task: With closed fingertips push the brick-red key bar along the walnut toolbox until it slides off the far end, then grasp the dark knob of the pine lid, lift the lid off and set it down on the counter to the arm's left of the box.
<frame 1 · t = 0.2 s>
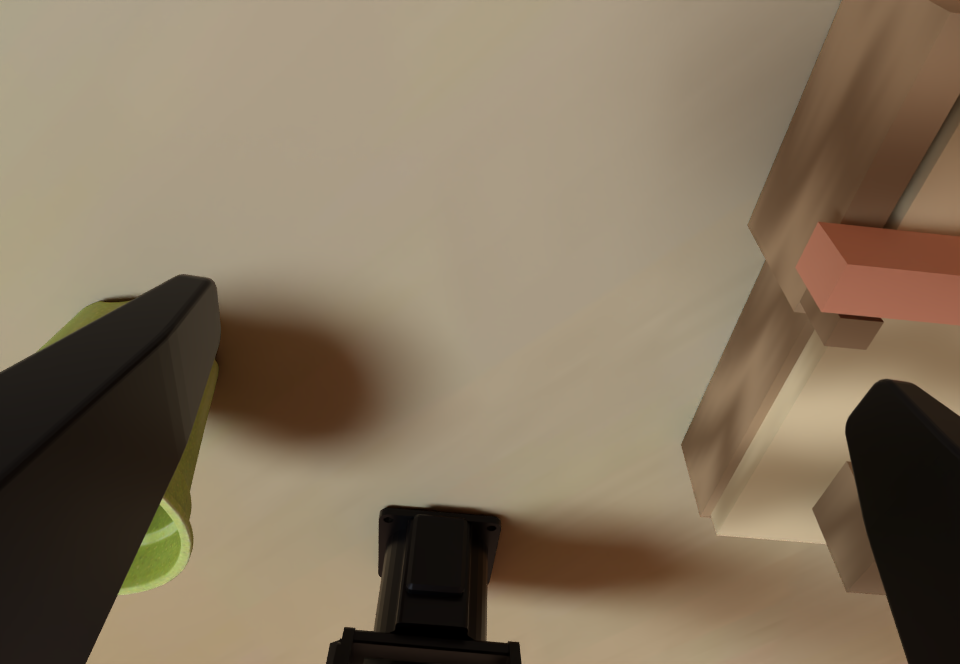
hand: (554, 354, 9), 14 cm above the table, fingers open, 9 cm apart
lid: (938, 357, 23), point 4 cm above the table, touching toolbox
toolbox: (886, 286, 26), on the table
plant pot: (151, 349, 29), on the table
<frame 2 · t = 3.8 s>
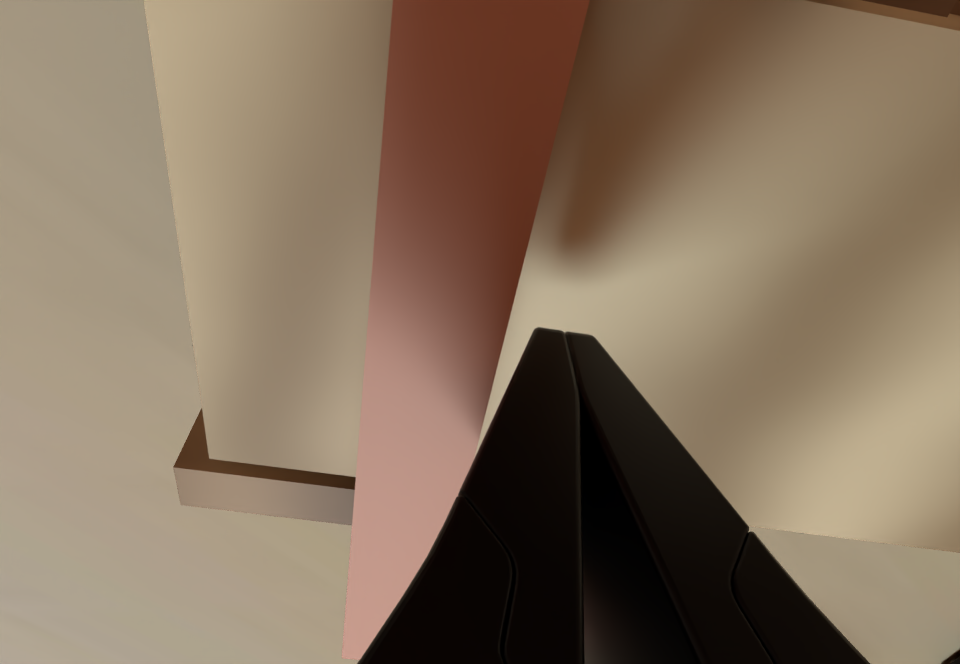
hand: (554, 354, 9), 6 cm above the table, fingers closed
key bar: (431, 350, 9), point 6 cm above the table, slide at 1.6 cm, touching gripper
lid: (805, 311, 11), point 4 cm above the table, touching toolbox
toolbox: (739, 195, 14), on the table
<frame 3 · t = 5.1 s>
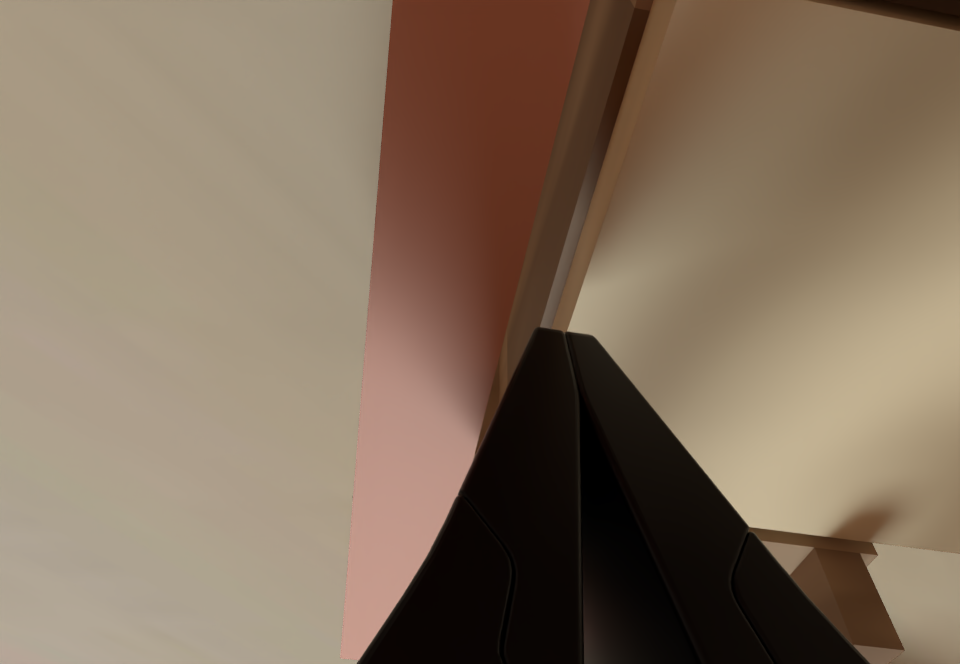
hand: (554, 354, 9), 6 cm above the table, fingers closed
key bar: (430, 350, 9), point 6 cm above the table, slide at 7.3 cm, touching gripper
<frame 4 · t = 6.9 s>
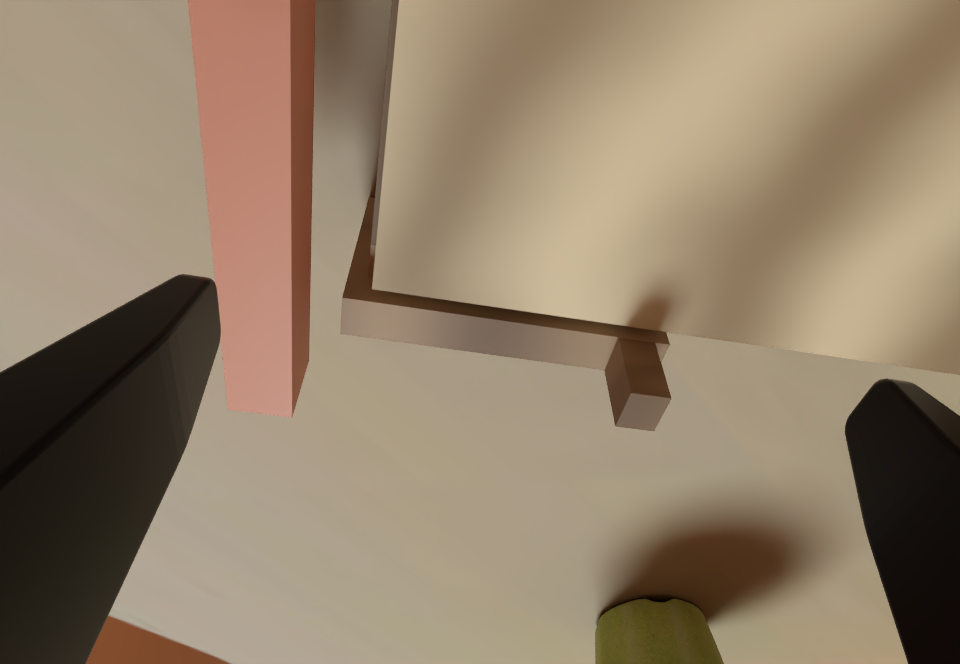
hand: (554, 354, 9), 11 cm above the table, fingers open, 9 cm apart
key bar: (261, 115, 12), point 6 cm above the table, slide at 7.5 cm
lid: (823, 166, 15), point 4 cm above the table, touching toolbox
toolbox: (767, 98, 18), on the table
plant pot: (649, 617, 38), on the table
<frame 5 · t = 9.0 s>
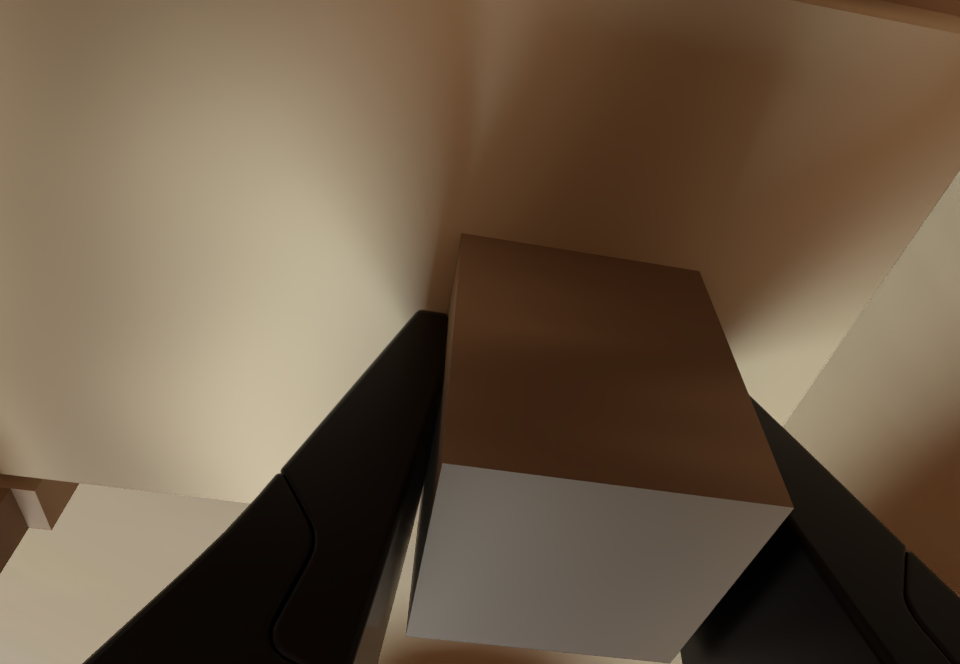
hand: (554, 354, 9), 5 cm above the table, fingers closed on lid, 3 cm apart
lid: (131, 235, 9), point 4 cm above the table, touching gripper, toolbox
toolbox: (222, 121, 12), on the table
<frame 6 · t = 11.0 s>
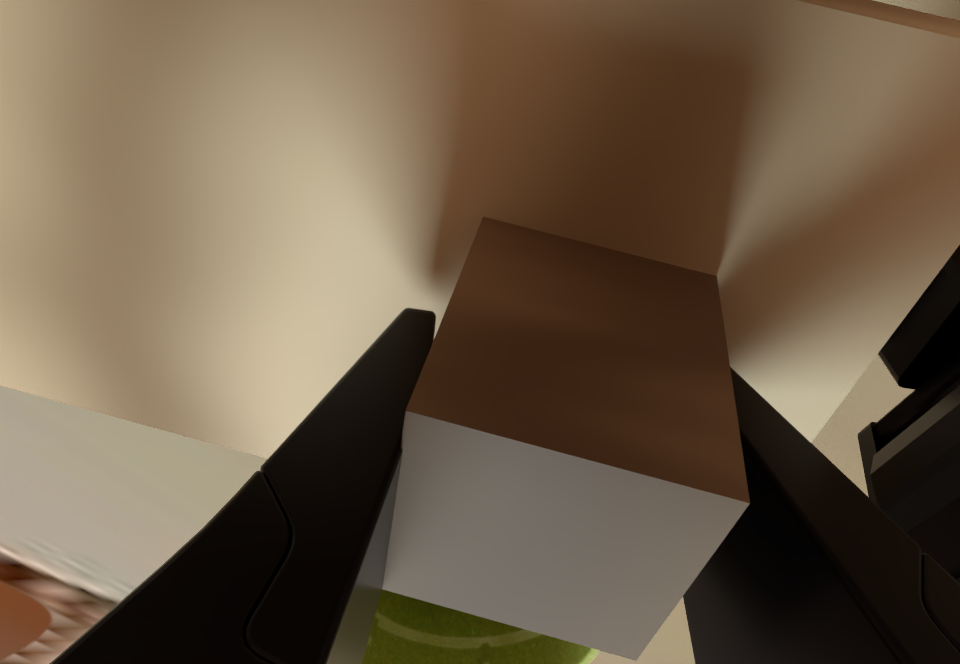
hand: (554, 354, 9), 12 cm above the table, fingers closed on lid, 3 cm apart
lid: (197, 197, 10), point 10 cm above the table, tilted 10°, touching gripper
plant pot: (470, 439, 29), on the table
when the fingers open (3 cm above the table, at t = 13.0 s): lid drops 1 cm, on the table.
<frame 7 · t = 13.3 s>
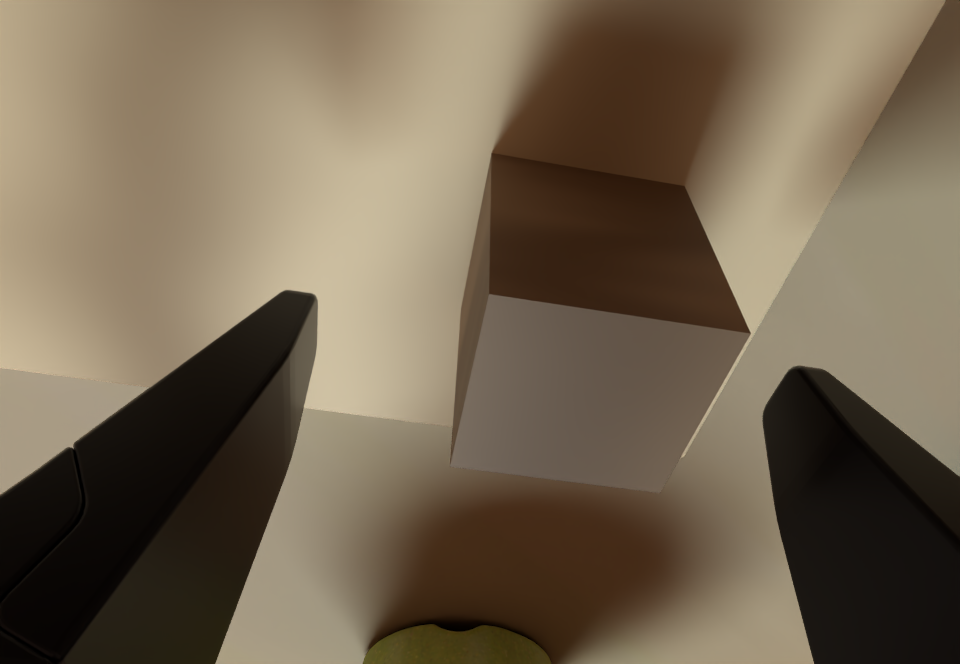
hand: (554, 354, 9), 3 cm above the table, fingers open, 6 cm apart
lid: (212, 164, 11), on the table
plant pot: (460, 656, 22), on the table
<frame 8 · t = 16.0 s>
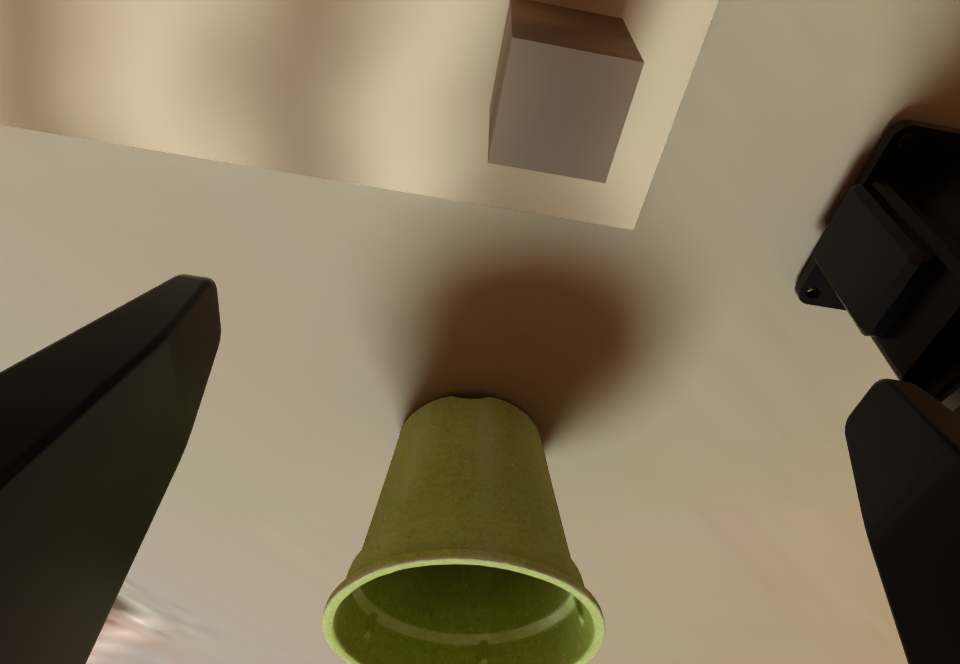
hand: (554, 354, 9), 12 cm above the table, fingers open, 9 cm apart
lid: (340, 14, 19), on the table
plant pot: (471, 436, 29), on the table
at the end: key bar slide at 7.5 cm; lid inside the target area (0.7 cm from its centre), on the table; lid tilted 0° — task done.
